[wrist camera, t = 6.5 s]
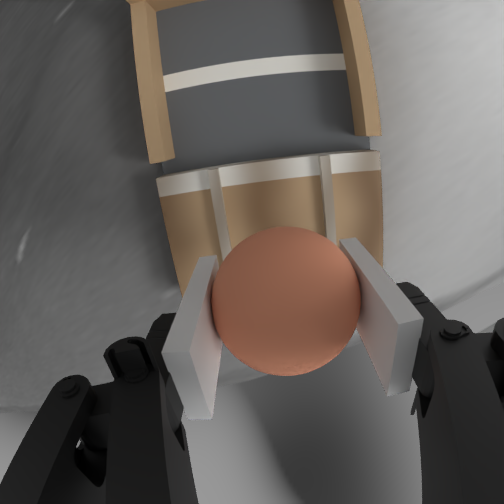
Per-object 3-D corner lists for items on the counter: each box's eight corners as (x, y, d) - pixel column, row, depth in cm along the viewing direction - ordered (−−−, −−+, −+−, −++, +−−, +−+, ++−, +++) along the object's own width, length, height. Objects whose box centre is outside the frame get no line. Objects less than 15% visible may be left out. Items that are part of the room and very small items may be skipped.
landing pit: (338, -18, 16) (354, -44, 12) (367, 149, 20) (391, 153, 16) (144, 7, 17) (121, -15, 13) (166, 173, 21) (145, 183, 17)
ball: (336, 203, 13) (387, 248, 8) (339, 313, 15) (374, 391, 10) (207, 219, 13) (183, 275, 8) (228, 328, 15) (221, 413, 10)
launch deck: (367, 149, 20) (382, 151, 18) (371, 268, 24) (385, 285, 21) (166, 173, 21) (152, 180, 18) (190, 290, 24) (182, 310, 22)
